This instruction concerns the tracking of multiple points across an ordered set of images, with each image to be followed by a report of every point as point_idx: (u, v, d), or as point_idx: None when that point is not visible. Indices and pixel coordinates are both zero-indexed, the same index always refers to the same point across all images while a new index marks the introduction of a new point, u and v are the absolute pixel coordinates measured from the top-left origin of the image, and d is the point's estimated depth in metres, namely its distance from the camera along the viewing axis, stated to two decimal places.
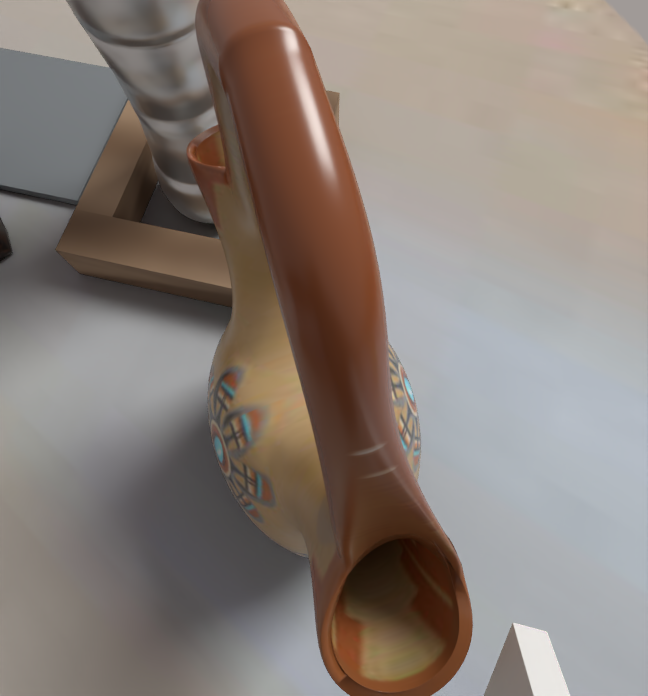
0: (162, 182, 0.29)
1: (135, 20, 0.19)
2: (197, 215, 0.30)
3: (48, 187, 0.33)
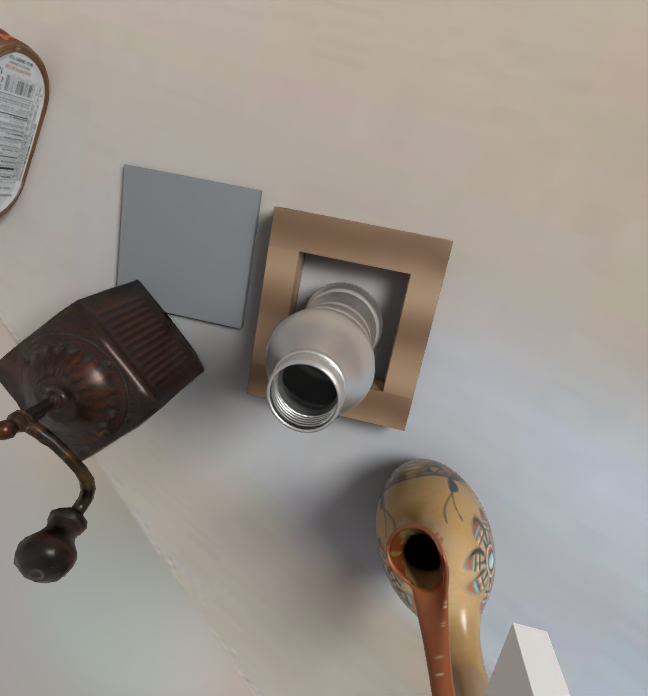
0: None
1: None
2: None
3: (215, 317, 0.43)
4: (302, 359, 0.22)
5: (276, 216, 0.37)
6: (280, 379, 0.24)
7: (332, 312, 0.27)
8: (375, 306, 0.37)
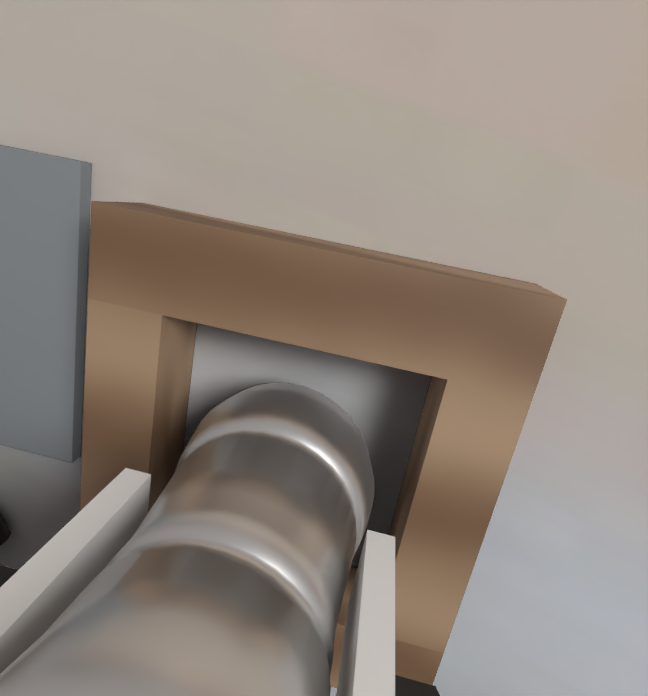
0: None
1: None
2: None
3: (18, 438, 0.20)
4: None
5: (98, 226, 0.14)
6: None
7: None
8: (355, 458, 0.15)
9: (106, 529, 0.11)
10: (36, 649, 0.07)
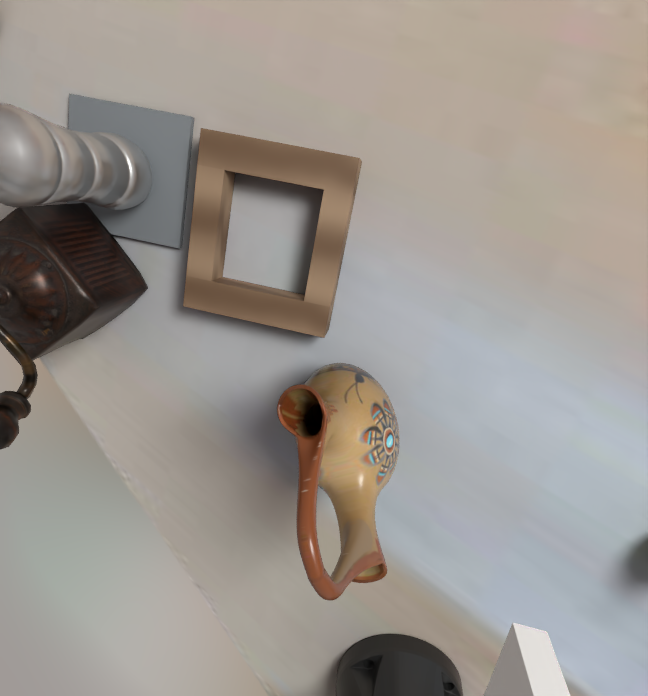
0: None
1: (22, 204, 0.32)
2: None
3: (156, 238, 0.47)
4: None
5: (203, 137, 0.41)
6: None
7: (9, 104, 0.30)
8: (132, 151, 0.41)
9: None
10: None
